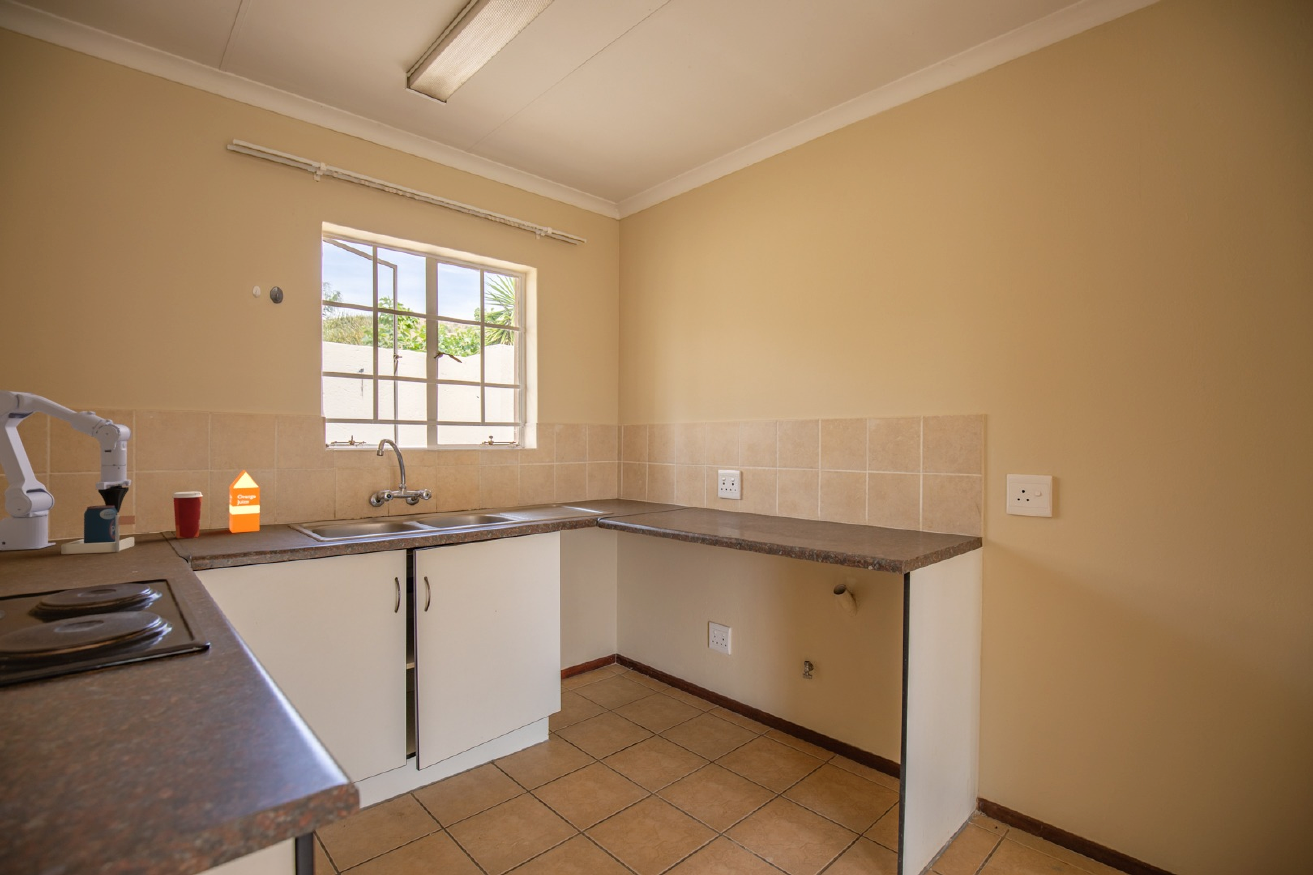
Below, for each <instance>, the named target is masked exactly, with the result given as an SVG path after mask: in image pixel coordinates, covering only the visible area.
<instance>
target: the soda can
mask: <svg viewBox="0 0 1313 875" xmlns="http://www.w3.org/2000/svg"><path fill="white" fill-rule="evenodd" d="M116 515H118V513H117V510H116V509H115V506H114V505H105V504H104V505H91V506H87V507H86V510H85V512H84V514H83V539H84V543H108V542H115V531H116Z"/></svg>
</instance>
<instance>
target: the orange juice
mask: <svg viewBox="0 0 1313 875" xmlns="http://www.w3.org/2000/svg"><path fill="white" fill-rule="evenodd" d="M260 508H261V507H260V486H259V485H258V484H257V483H256V482H255V481H254V479H253V478H252V477H251V476H250V475H249V473H248V472H247V471H246V470H242V471H241V472H240V473H239V474H238V476H237V477H236V478H235V479H234V480H233V482H232V483H231V484H230V485H229V531H230V532H231V533H232V534H233V533H235V534H236V533H246V532H259V531H260V514H261V513H260V510H261V509H260Z"/></svg>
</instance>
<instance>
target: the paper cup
mask: <svg viewBox="0 0 1313 875" xmlns="http://www.w3.org/2000/svg"><path fill="white" fill-rule="evenodd" d="M203 496H204V495H202V491H179V492H174V493H173V496H172V498H173V510H174V513H173V514H174V524H175V537H176V539H183V540H184V539H192V538H198V537H199V535H200V525H201V509H202V497H203Z"/></svg>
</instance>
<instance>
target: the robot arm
mask: <svg viewBox="0 0 1313 875" xmlns="http://www.w3.org/2000/svg"><path fill="white" fill-rule="evenodd" d="M39 412H40V413H43V414H45V415H48V416H51V417H54V418H57V419H59V420H61V421H65V422H68V423H69V424H70V427H71V428H72V429H73V430H75V431H77V432H80V433H83V434H85V435H88V436H90V437H92V438H94V439H95V438H96V440H97V442H99V445H100V446H99V447H100V481H98V482H95V490H97V491H98V493H99V495H100V496H101V497H102V499H103V501H104V505H114V506H115V509H116V510H117V514H118V513H120V511H121V508H122V504H123V501H124V498H125V496H126V495H127V493H128V492H129V488H130V487H129V486H131V483H132V480H131V479H130V478H129V479H128V474H127V472H128V471H127V470H128V466H127V465H128V456H127V455H128V447H127V446H128V441H129V440H130V439H131V438H132V432H131V429H130V428H129V427H128V425H127V426H126V425H125V424H124V423H114V420H112V419H110V418H107V419H106V418H103V417H100V416H99V415H97V414H96V412H95V411H93V410H92V411H91V410H88V411H86V410H85V411H84V410H83V411H78V412H77V411H75V410H73V409H70V408H68V407H67V406H64V405H61V404H59V403H57V402H55V401H53V400H50V399H48V398H46V397H44V396H41V395H39V394H38V395H37V394H35V393H32V392H27V391H25V392H23V391H22V392H21V391H12V390H11V391H10V390H5V389H1V390H0V465H1V468H2V470H3V472H4V475H5V478H6V481H7V482H8V487H7V488H6V489H5V491H4V493H3V495H4V498H5V500H4V502H5V503H4V509H5V511H6V512H7V513H8V514H9V515H10V516H6V517H3V518H2V519H1V520H0V551H17V550H20V551H21V550H40V549H43V548H46V547H50V546H51V547H52V546H54V545H56V544H57V543H56V542H49V529H48V528H49V515H50V512H49V511H50V510H52V509H53V507H54V505H55V498H54V496H53V494H52V493H51V492H49V491H48V490H47V488H46V486H45V484H44V483H42V482H40V481H39V480H37V478H36V475H35V474H34V470H33V469H32V465H31V463H30V460H29V457H28V455H27V453H26V450H25V448H24V445H23V443H22V440H21V437H20V434H19V432H18V429H17V427H18V426H19V425H20V423H21V422H22V421H24V420H25V419H27V418H29V417H30V416H31V415H34V414H35V413H39Z"/></svg>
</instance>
